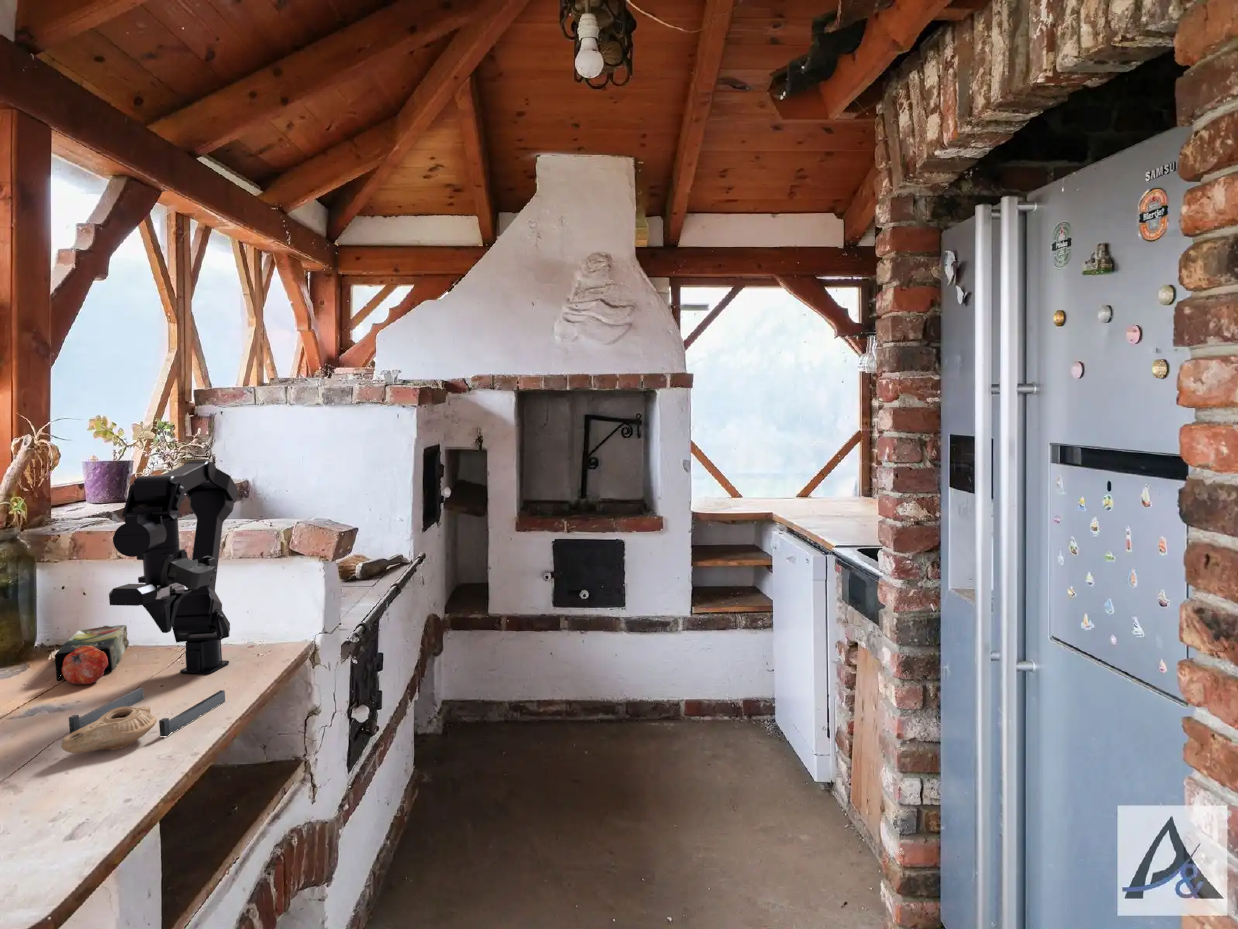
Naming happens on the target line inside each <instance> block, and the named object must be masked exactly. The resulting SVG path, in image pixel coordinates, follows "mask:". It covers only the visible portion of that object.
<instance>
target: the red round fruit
mask: <svg viewBox="0 0 1238 929" xmlns="http://www.w3.org/2000/svg"><path fill="white" fill-rule="evenodd" d="M107 666H108V659H107V656H106V654H105V653H104V651H101V650H99V649H97V648H96V647H94V646H91V645H88V646H87V645H86V646H82V647H79V648H76V649H75V650H74V651H73V652H72V653H70V654H68V655H67V656H66V657H65V658H64V661H63V667H62V673H63V674H62V676H63V678H64V679H65V680H66V681H67V682H68V683H70V684H72V685H76V686H79V685H91V684H95V683H97V682H98V681H99V680H100V679H101V678H102V677H103V675H104V673H105V672H104V669H105V668H106V667H107Z"/></svg>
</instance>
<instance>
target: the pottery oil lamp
mask: <svg viewBox="0 0 1238 929" xmlns="http://www.w3.org/2000/svg"><path fill="white" fill-rule="evenodd" d="M156 723H157V717H156V716H154V715H153V714H151V707H150V706H146V705H145V706H137V707H134V706H129V707H119V708H116V709H113V710H110V711H109V712H107V713H106V714H104V715H103V716H101V718H99V719H98V720H97V721H95V722H93V723H91V724H88V725H86V726H84V727H82V728H80V729H79V730H77V731H75V732H73V733H71V734H70V733H69V734H67V735H66V736H65V737H63V739H62V741H61V745H60V748H61V749H62V750H64V752H68V753H71V754H82V753H88V752H93V751H99V750H106V749H109V751H110V749H114V750H117V749H118V748H119V749H122V748H126V747H128V746H129V747H130V744H131V745H132V744H134V742H136V741H138V740H140V739H141V738H142V737H143V736H145V735H146V734H147V733H149V731H150V730H151V729H153V727H155V725H156ZM125 746H126V747H125ZM121 747H122V748H121Z"/></svg>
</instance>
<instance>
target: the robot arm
mask: <svg viewBox="0 0 1238 929" xmlns="http://www.w3.org/2000/svg"><path fill="white" fill-rule="evenodd" d="M185 495H186V496H187V499H189V507H190V508H191V510H192V512H193V513H194V515H195V517H196V526H195V534H194V539H193V540H194V542H193V546H192V547H193V549H192V555H191V556H192V557H191V559H190V558H188V552H187V550H186V549H185V548H184V549H183V548H182V549H181V547H180V533H179V518H180V517H181V516H182V515H181V512H180V508H181V506H182V503H183V502H184V500H185V499H186V498H185V497H186V496H185ZM237 498H238V488H237V485H236V483H235V482H234V480H233V478H232V477H231V475H230V474H228V473H226V472H225V471H223V470H221V469H219V468H217V467H216V465H215V463H214V462H213V461H210V460H196V461H195V460H193V461H192V460H190V461H187V462H184V463H183V465H180V466H179V467H177V468H174V469H173V470H170V471H168V472H165V473H164V474H162V475H161V474H158V475H142V476H141V475H140V476H139V475H138V476H137V477H136V478H135V479H133V482H132V484H131V485H130V487H129V490H128V494H127V497H126V501H125V504H124V507H123V511H122V515H121V516H122V518H124V523H123V524H121V525H120V526H119V527H118V528H117V529H115V532H114V534H113V537H112V543H113V547H114V548H115V550H116V552H118V553H120V554H121V555H123V556H125V557H130V558H135V557H136V561H142V566H143V575H141V576H138V577H137V582H138V583H127V584H124V585H120V586H118V587H114V588H112V589H111V590H110V591H109V593H108V600H109V606H127V607H128V606H130V607H131V606H133V607H134V606H135V607H137V606H142V607H143V608H144V609H145V610H146V612H147V613H148V614H149V615H150V617H151V618H152V620H153V621H154V623H155V624H156V625H157V627H158V629H159V630H160V631H161V633H163V634H169V633H170V632H171V630H172V632H173V635H174V641H175V642H176V644H177V643H178V644H179V643H184V642H185V652H184V653H185V654H184V656H185V667H183V668H182V669H180V670H179V673H180V674H211V673H214V672H216V671H218V670H219V669H221V668H223V667H225V666H226V665H228V664H230V660H223V655H222V654H223V653H222V651H223V650H222V640H224V639H226V638H229V637H230V631H231V622H230V621H229V620H228V617H227V616H226V615H225V613H224V612H223V603H222V601H221V600H220V598H219V596H218V595H217V592H216V585H217V584H216V582H217V577H218V576H217V575H218V567H219V558H220V549H221V541H222V531H223V524H224V522H225V520H226V519H227V518H228V517H229V516H230V515H231V514H232V512H233V510H234V507H235V506H234V505H235V502H236V500H237ZM213 671H214V672H213Z"/></svg>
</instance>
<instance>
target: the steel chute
mask: <svg viewBox="0 0 1238 929" xmlns="http://www.w3.org/2000/svg"><path fill="white" fill-rule="evenodd" d="M144 697H145V696H144V688H143V687H138V688H136V689H134V690H132V691H129V692H128V693H125V694H124V695H122V696H120V697H118V698H115V699H114V700H111V701H109V702H108V703H105V704H104V705H101V706H99V707H97V708H95V709H94V710H91V711H90V712H87V713H85V714H83V715H81V716H79V714H73V715H71V716H68V727H69V728H68V729H69V734H71V733H73V732H75V731H77V730H79V729H80V728H82V727H84V726H86V725H88V724H91V723H93V722H95V721H97V720H98V719H99V718H101V716H103V715H104V714H106V713H107V712H109V711H110V710H113V709H116V708H119V707H132V705H135V704H137V703H139V702H141V701H142V699H143V700H145V698H144ZM223 702H224V703H225V702H226V690H224V689H223V690H218V691H217V692H215V693H213V694H211V695H210V696H208V697H207V698H205V699H203V700H201V701H200V702H198V703H196V704H194V705H193V706H191V707H189V708H188V709H185V710H184V711H182V712H181V713H179V714H177V715H176V716H174V717H172V718H170V719H169V717H168V718H167V717H163V718H161V719H159V720H158V725H159V726H158V727H159V737H160V736H168V735H169V734H170V733H171V732H174V731H176V730H177V729H179V730H181V729H182V728H181V727H182V726H184V727H185V725H186V724H187V723H189V722H191V721H192V720H194V719H196V718H197V717H199V716H200V715H202V716H204V715H205V714H204V713H205V712H207V713H209V712H210V711H209V710H211V709H212V708H214V707H216V706H217V705H219V704H220V705H222V704H224V703H223ZM221 703H222V704H221ZM220 705H219V706H220ZM217 707H218V706H217ZM217 707H216V708H217ZM214 709H215V708H214ZM212 710H213V709H212ZM212 710H211V711H212ZM208 711H209V712H208ZM203 714H204V715H203ZM199 718H200V717H199ZM197 719H198V718H197ZM197 719H196V720H197ZM194 721H195V720H194ZM192 722H193V721H192ZM192 722H191V723H192ZM189 724H190V723H189ZM187 725H188V724H187ZM187 725H186V726H187ZM180 728H181V729H180ZM176 732H177V731H176ZM174 733H175V732H174ZM168 737H169V736H168Z"/></svg>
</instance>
